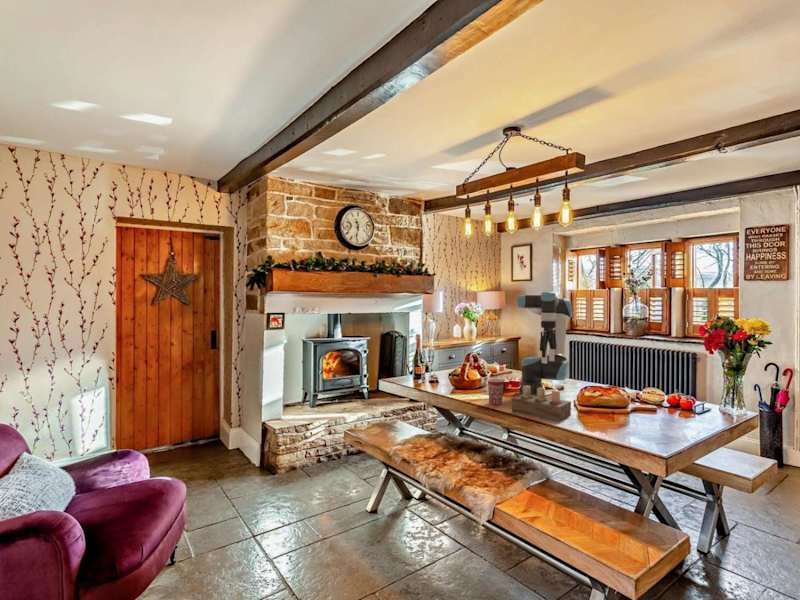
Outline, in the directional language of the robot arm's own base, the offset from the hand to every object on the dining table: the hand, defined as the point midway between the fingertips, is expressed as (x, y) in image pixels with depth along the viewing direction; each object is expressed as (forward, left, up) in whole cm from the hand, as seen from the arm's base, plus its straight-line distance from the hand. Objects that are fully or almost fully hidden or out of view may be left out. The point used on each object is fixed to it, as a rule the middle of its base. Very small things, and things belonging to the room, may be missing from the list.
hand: (548, 362), depth 240 cm
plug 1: (+11, -7, -21) cm, 25 cm away
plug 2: (+11, +9, -21) cm, 25 cm away
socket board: (+11, +1, -25) cm, 28 cm away
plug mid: (+11, +1, -21) cm, 24 cm away
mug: (+8, -26, -26) cm, 37 cm away
